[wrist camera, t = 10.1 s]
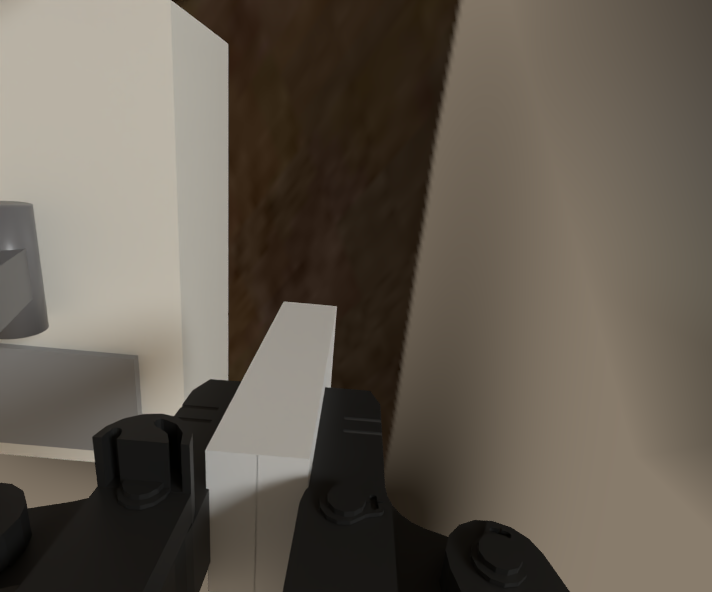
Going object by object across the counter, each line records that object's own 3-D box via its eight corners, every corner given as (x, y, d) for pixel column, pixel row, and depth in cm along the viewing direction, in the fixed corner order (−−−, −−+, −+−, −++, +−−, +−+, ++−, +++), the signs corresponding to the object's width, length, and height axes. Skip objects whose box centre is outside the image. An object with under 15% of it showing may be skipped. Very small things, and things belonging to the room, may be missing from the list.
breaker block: (-13, 20, 22) (-187, -38, 15) (228, 43, 22) (165, -4, 15) (39, 378, 29) (-68, 453, 22) (228, 395, 29) (183, 475, 22)
